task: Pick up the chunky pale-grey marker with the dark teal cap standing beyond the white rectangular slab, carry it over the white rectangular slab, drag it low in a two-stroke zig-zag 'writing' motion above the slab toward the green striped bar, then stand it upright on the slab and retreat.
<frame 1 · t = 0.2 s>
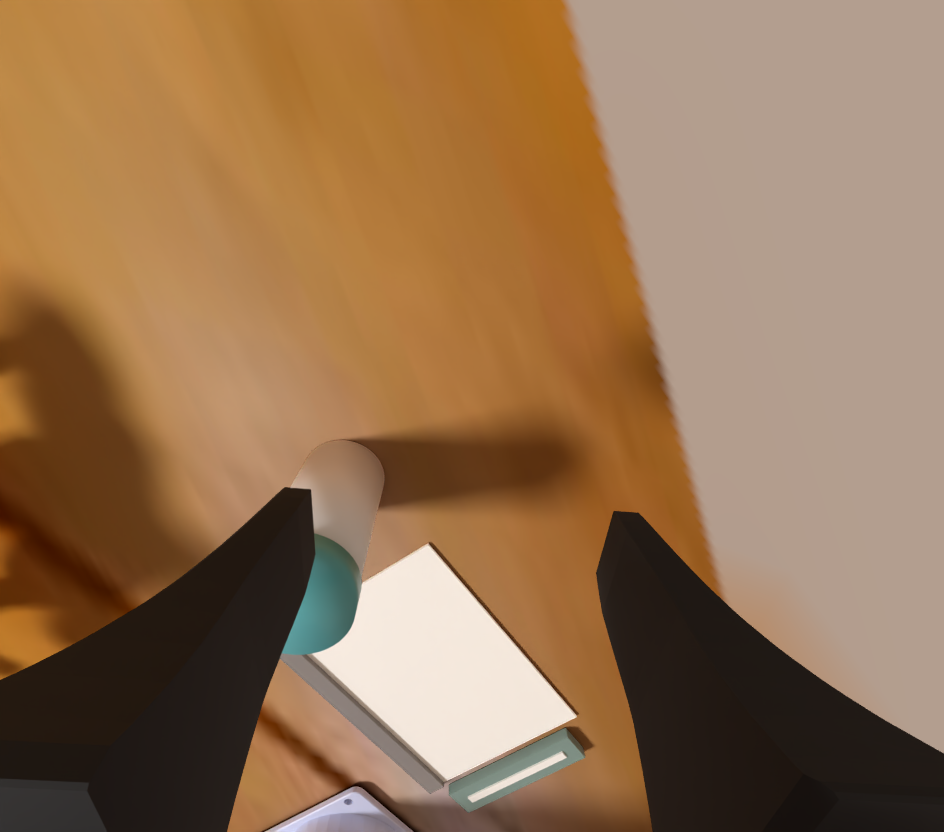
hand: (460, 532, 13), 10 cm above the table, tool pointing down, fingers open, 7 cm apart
green striped bar: (515, 766, 31), on the table
white rectangular slab: (429, 678, 28), on the table
marker: (343, 476, 24), on the table
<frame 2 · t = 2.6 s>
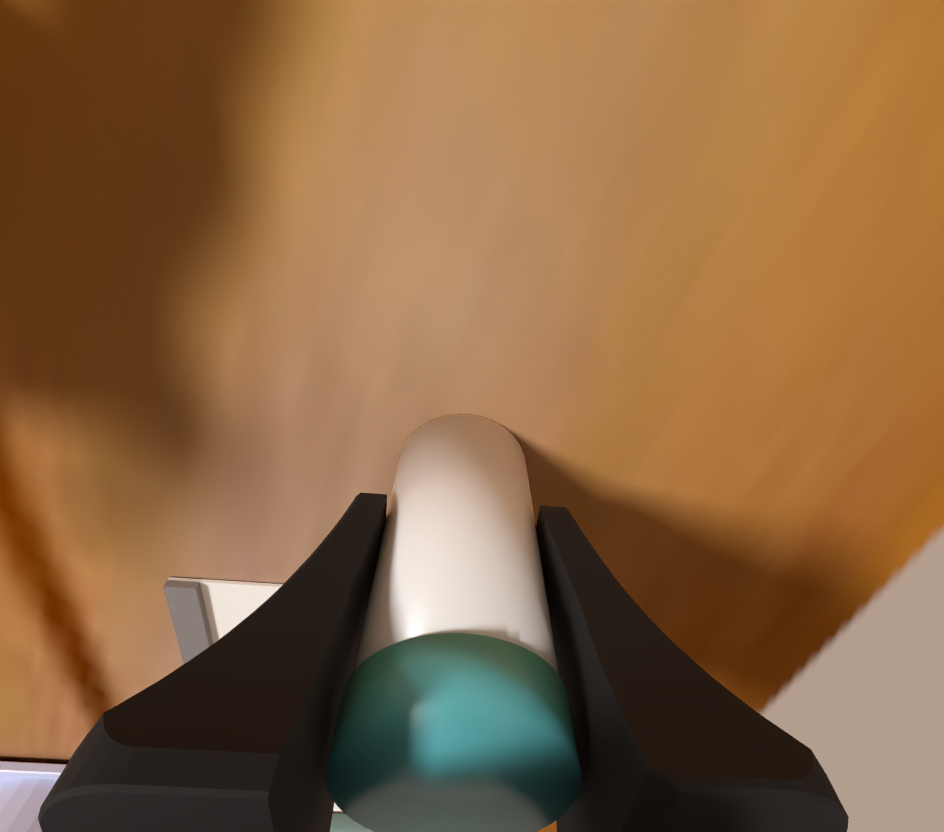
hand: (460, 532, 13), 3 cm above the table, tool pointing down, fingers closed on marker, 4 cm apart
green striped bar: (340, 824, 25), on the table
white rectangular slab: (334, 715, 21), on the table
marker: (462, 469, 15), on the table, touching gripper
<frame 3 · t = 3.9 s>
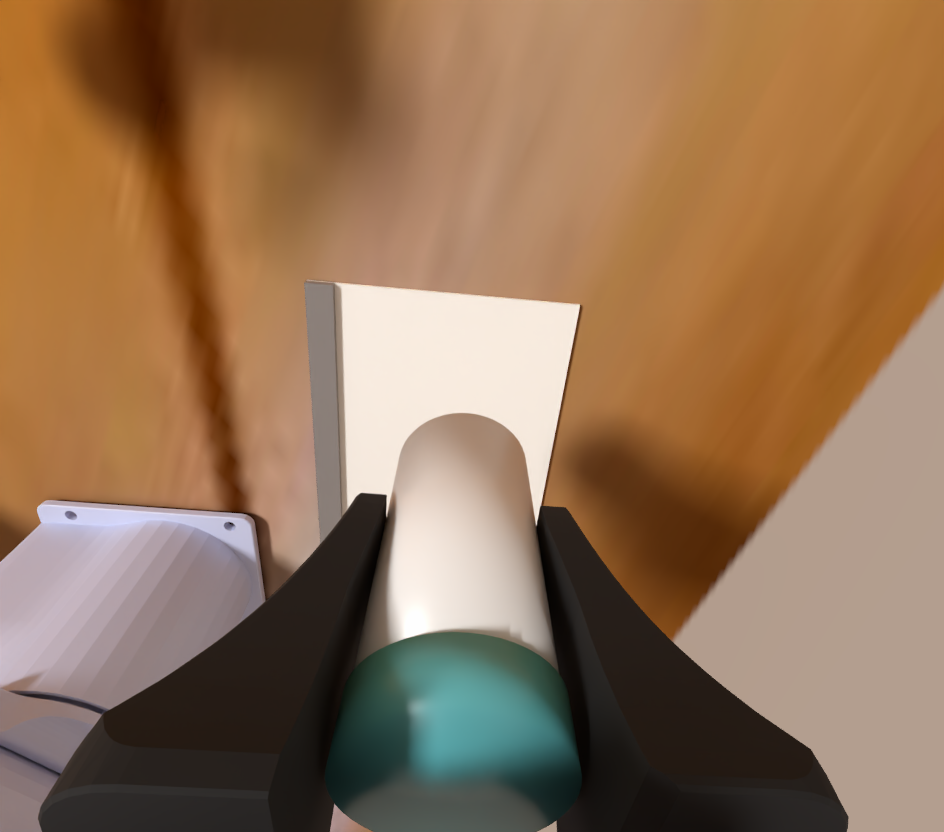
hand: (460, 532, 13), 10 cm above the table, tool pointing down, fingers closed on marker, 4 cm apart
white rectangular slab: (434, 451, 23), on the table
marker: (462, 468, 15), point 7 cm above the table, touching gripper
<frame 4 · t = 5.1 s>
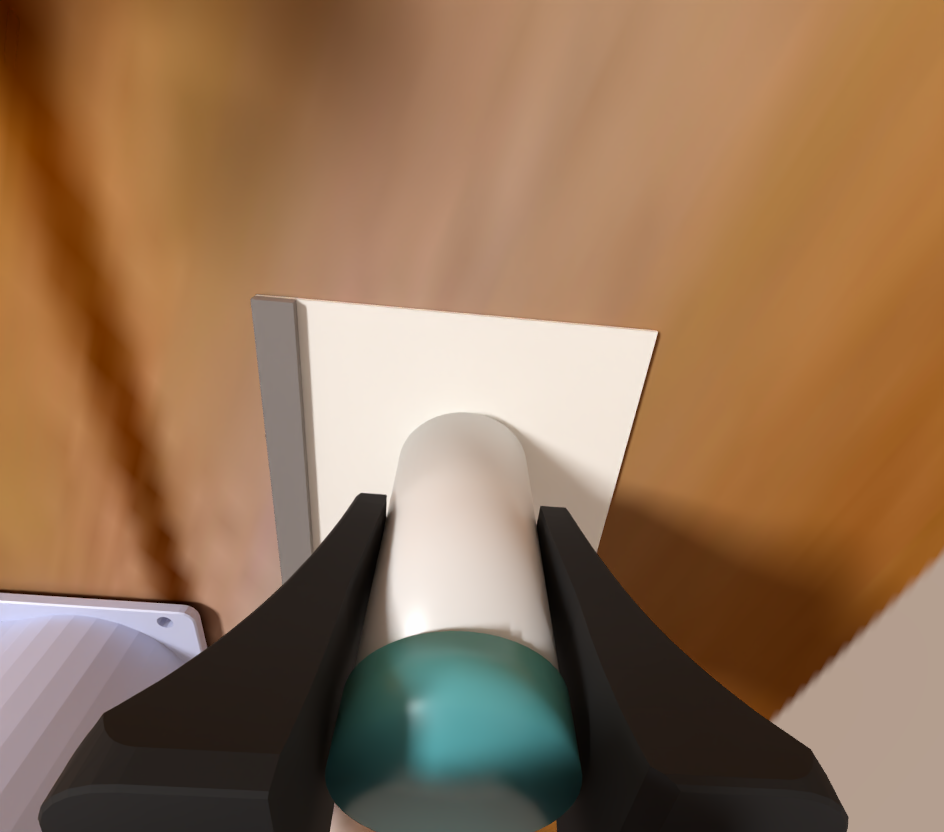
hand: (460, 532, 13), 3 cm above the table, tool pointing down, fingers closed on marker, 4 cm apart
white rectangular slab: (441, 527, 17), on the table
marker: (462, 468, 15), resting on white rectangular slab, touching gripper
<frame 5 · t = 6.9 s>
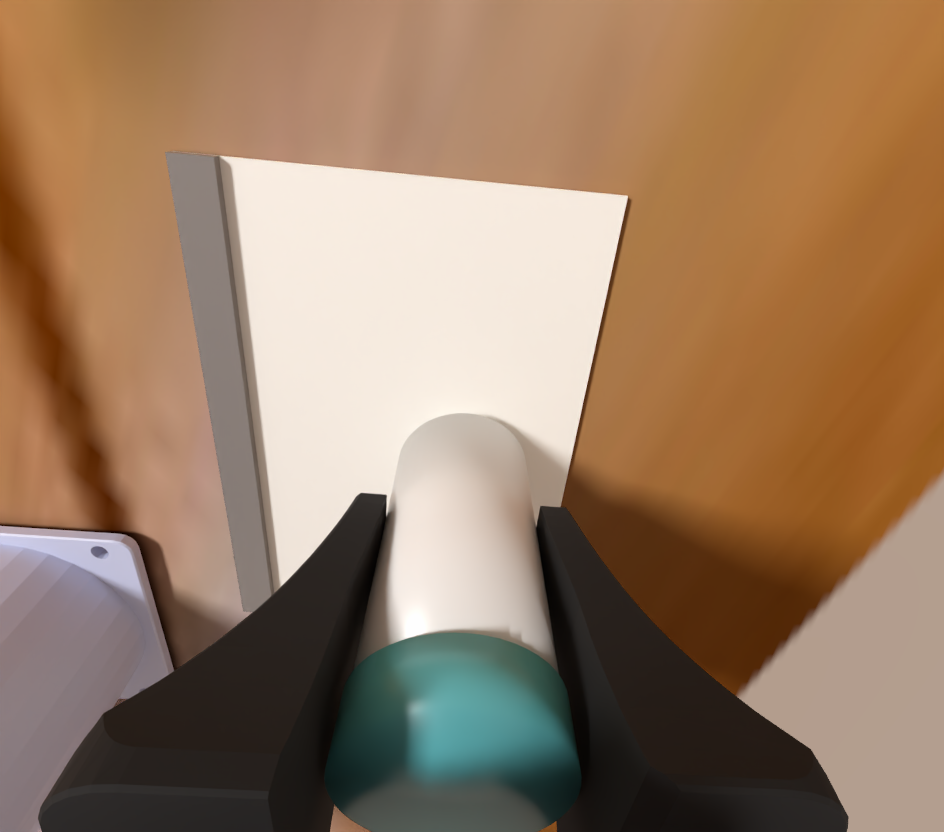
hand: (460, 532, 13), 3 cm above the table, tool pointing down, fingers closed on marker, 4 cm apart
white rectangular slab: (397, 440, 15), on the table
marker: (462, 469, 15), point 1 cm above the table, touching gripper
when the fingers open (3 cm above the table, at t = 8.1 s): marker stays where it is, resting on white rectangular slab.
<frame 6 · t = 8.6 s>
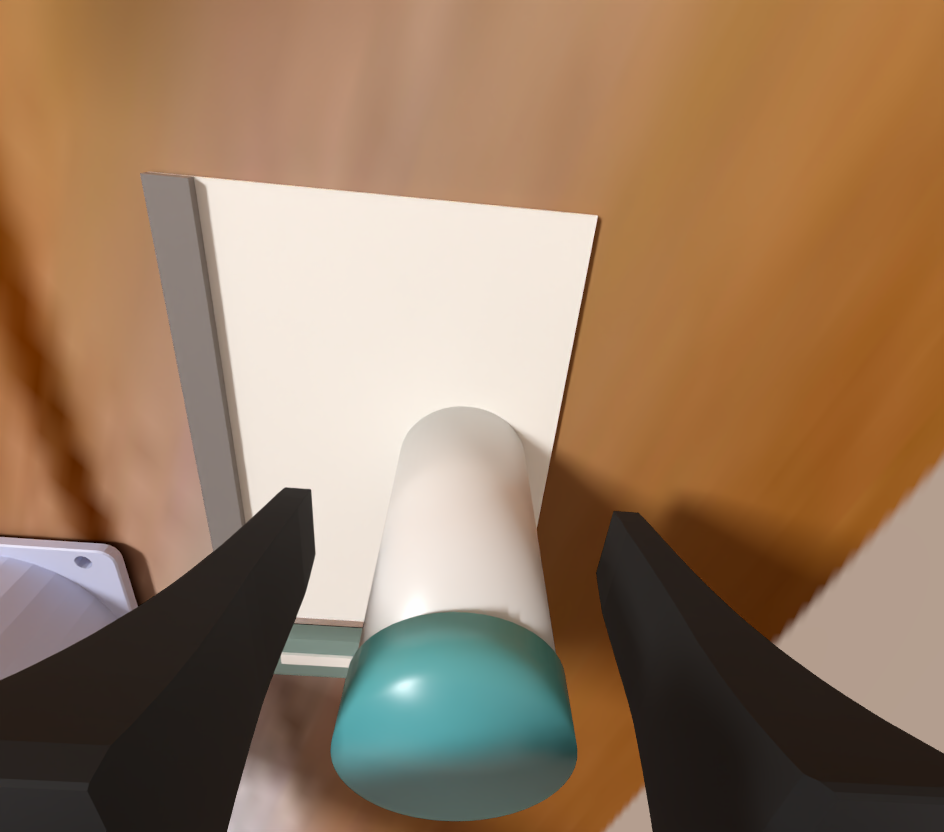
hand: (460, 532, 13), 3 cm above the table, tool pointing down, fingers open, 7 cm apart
green striped bar: (375, 647, 20), on the table
white rectangular slab: (376, 453, 15), on the table
marker: (462, 461, 15), resting on white rectangular slab
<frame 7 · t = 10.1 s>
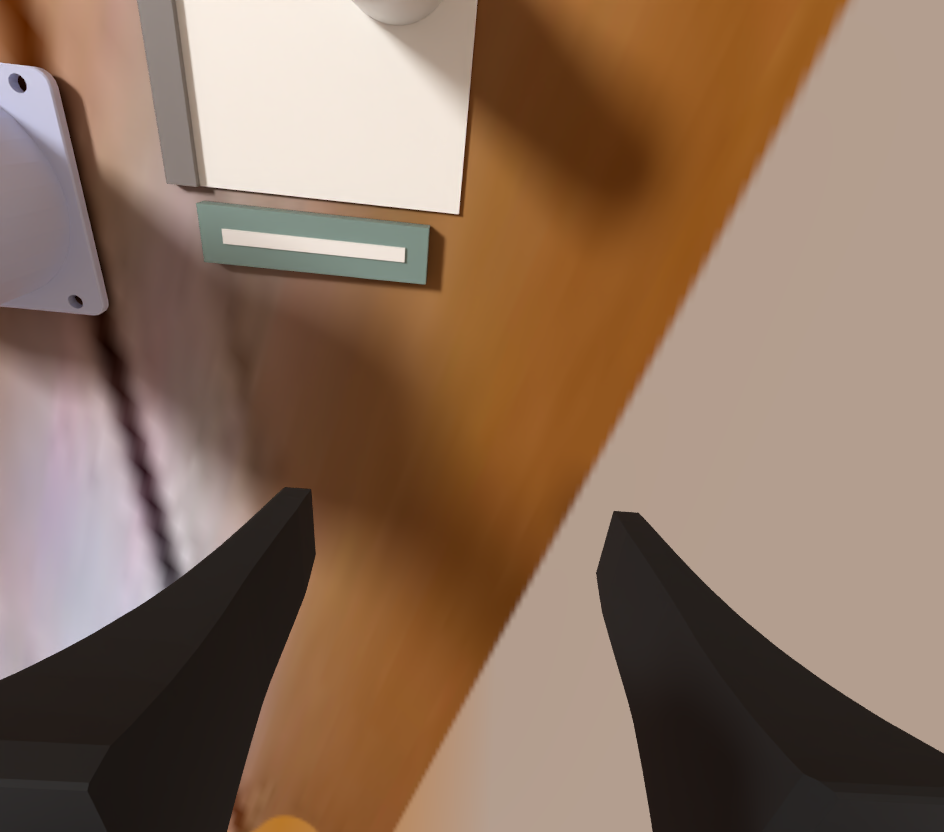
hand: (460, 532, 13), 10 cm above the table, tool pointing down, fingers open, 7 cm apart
green striped bar: (319, 241, 20), on the table
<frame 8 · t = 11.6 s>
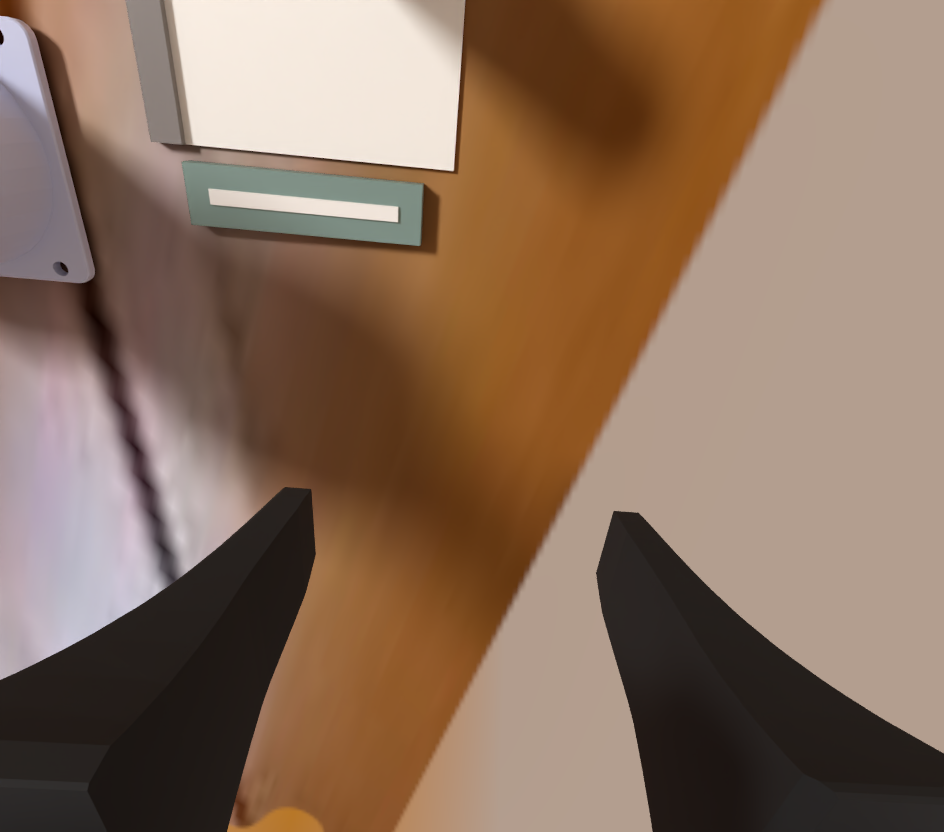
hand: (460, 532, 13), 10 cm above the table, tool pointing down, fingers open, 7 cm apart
green striped bar: (309, 202, 19), on the table
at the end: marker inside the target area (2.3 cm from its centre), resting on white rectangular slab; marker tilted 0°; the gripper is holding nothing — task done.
